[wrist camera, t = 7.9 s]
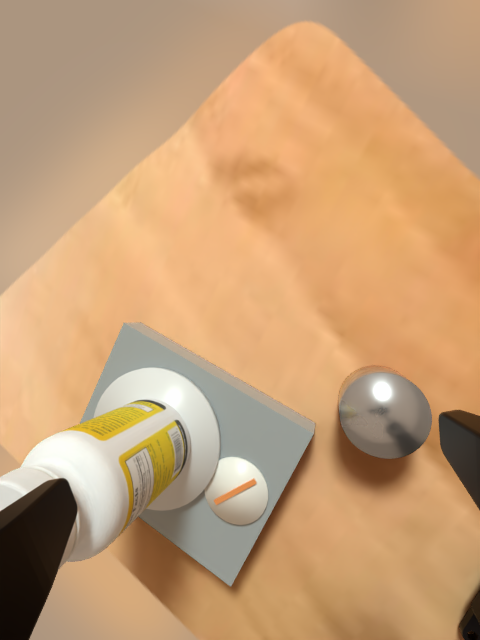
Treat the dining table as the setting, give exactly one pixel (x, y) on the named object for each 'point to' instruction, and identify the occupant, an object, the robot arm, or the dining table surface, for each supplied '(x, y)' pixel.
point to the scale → (207, 446)
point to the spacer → (383, 412)
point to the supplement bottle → (107, 470)
